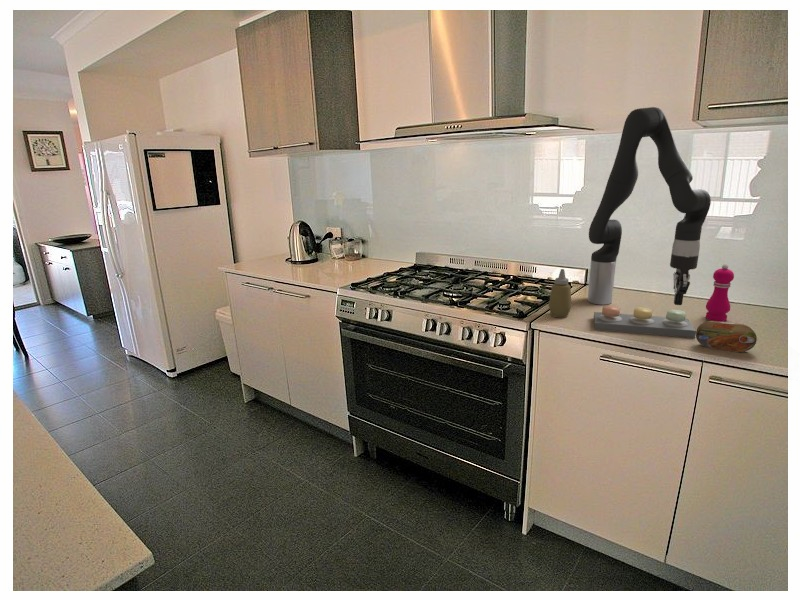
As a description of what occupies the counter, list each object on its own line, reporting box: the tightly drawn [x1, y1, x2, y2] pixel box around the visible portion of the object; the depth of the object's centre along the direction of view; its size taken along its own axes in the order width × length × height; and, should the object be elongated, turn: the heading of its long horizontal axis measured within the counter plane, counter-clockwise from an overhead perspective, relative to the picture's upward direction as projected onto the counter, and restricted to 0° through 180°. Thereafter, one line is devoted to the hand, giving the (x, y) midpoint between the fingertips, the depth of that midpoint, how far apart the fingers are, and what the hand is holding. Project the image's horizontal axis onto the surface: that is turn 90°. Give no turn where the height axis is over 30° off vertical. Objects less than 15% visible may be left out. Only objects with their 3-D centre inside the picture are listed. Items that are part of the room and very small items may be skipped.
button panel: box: [593, 311, 697, 339], centre depth 159 cm, size 12×30×3 cm, turn 70°
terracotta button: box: [601, 304, 621, 317], centre depth 161 cm, size 6×6×2 cm
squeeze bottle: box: [548, 268, 572, 319], centre depth 171 cm, size 8×8×18 cm
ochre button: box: [632, 306, 653, 319], centre depth 158 cm, size 6×6×2 cm
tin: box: [695, 320, 758, 353], centre depth 139 cm, size 15×3×8 cm, turn 59°
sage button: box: [665, 309, 687, 322], centre depth 154 cm, size 6×6×2 cm
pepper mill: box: [705, 264, 735, 322], centre depth 162 cm, size 7×7×20 cm
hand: (677, 304), depth 153 cm, fingers closed
